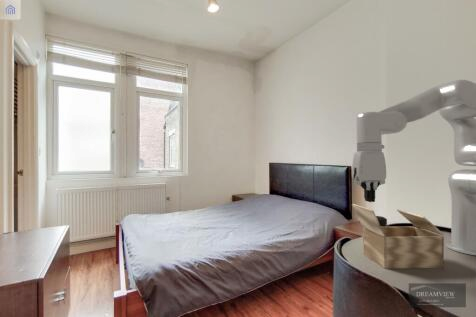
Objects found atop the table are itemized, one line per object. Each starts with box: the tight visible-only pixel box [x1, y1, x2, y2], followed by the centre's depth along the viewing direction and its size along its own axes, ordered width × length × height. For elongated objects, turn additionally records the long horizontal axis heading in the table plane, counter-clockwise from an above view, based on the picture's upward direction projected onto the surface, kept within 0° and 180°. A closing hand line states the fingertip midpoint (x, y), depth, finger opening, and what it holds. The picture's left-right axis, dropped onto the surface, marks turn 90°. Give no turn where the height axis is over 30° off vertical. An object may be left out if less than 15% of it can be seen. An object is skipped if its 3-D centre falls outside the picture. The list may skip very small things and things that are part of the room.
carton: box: [362, 226, 445, 270], centre depth 83 cm, size 20×12×10 cm, turn 94°
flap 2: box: [396, 209, 444, 236], centre depth 83 cm, size 9×12×1 cm
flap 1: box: [351, 203, 385, 236], centre depth 82 cm, size 9×12×1 cm
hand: (369, 201), depth 82 cm, fingers closed
